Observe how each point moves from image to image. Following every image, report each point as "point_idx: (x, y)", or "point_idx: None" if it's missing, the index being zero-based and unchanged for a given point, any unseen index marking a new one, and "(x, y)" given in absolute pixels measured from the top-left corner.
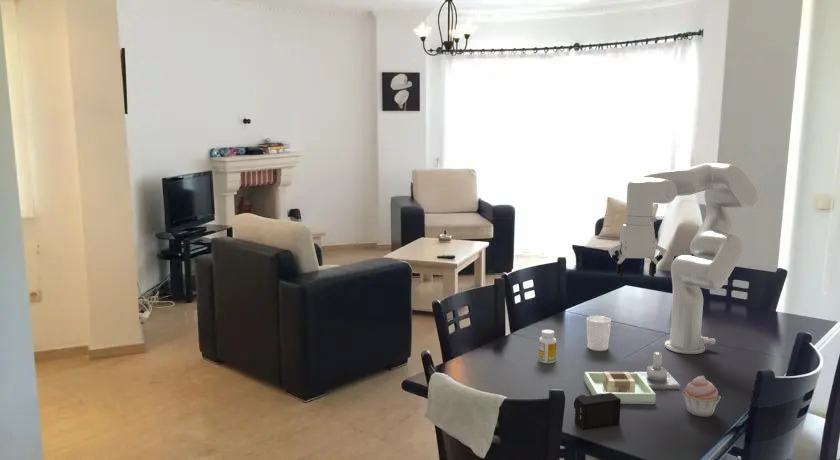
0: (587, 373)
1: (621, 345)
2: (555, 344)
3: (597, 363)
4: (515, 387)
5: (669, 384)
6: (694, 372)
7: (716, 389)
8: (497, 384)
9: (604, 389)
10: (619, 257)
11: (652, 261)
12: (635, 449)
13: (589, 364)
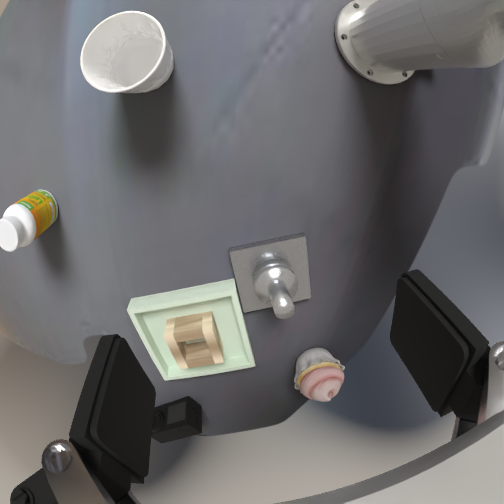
0: (133, 315)
1: (215, 31)
2: (37, 230)
3: (144, 190)
4: (47, 338)
5: (292, 300)
6: (363, 199)
7: (341, 384)
8: (25, 331)
9: None
10: (80, 501)
11: (466, 409)
12: (218, 432)
13: (127, 203)
